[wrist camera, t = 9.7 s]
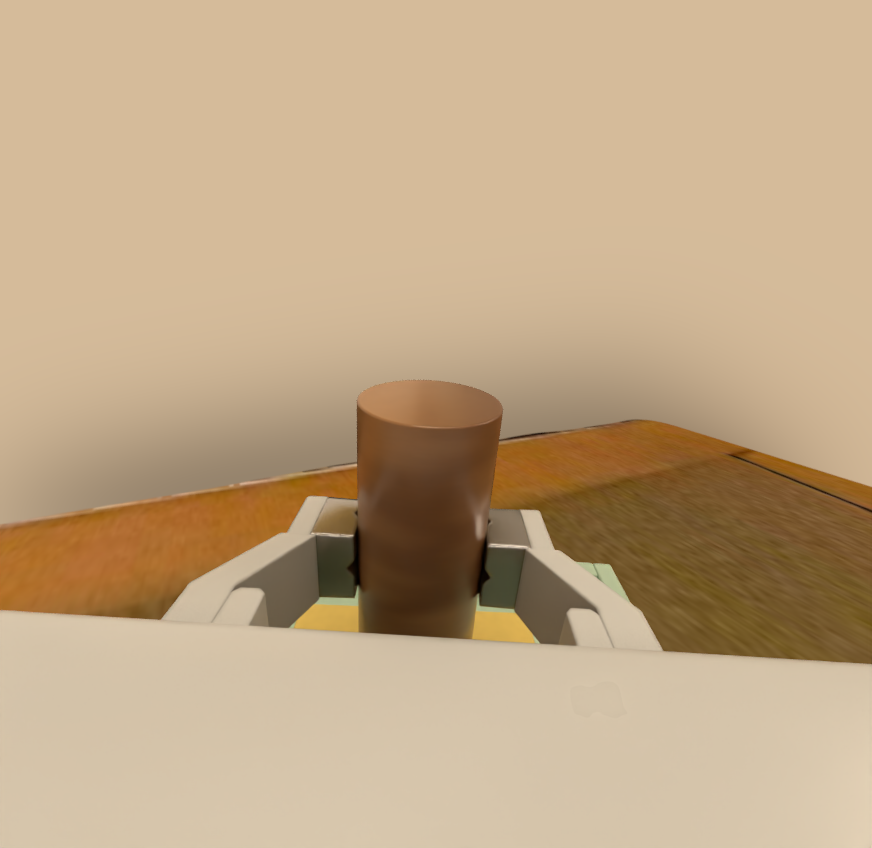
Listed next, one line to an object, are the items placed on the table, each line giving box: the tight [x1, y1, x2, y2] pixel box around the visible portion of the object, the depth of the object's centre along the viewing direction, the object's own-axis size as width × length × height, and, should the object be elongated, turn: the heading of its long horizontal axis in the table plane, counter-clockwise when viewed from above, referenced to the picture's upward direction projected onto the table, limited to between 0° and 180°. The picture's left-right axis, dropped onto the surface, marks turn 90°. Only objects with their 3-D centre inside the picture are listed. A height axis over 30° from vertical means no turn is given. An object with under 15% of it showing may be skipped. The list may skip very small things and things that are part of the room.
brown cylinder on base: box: [294, 380, 535, 643], centre depth 11 cm, size 8×6×11 cm
